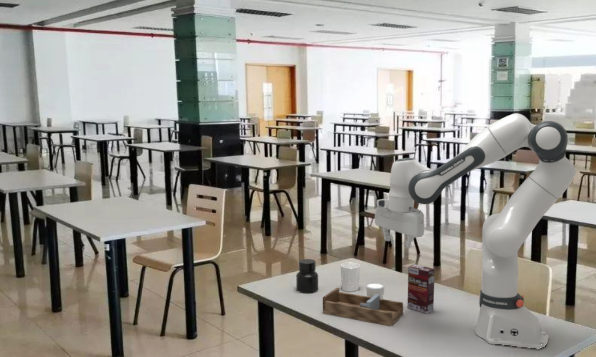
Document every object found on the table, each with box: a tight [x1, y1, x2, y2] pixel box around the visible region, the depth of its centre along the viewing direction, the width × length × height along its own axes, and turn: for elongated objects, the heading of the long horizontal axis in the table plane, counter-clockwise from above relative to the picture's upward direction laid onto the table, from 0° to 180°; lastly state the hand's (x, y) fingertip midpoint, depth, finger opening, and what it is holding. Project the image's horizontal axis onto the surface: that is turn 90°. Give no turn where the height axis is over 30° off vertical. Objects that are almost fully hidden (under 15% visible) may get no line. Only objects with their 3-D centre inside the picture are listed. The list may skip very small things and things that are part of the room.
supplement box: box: [406, 264, 436, 314], centre depth 214 cm, size 9×5×16 cm, turn 47°
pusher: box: [360, 294, 380, 310], centre depth 209 cm, size 6×9×5 cm, turn 151°
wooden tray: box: [322, 287, 404, 327], centre depth 211 cm, size 26×12×6 cm, turn 61°
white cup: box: [340, 262, 361, 293], centre depth 237 cm, size 8×8×10 cm
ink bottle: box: [295, 258, 319, 294], centre depth 237 cm, size 10×9×12 cm
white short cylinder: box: [365, 282, 385, 299], centre depth 221 cm, size 7×7×7 cm
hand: (397, 244), depth 203 cm, fingers open, 8 cm apart
